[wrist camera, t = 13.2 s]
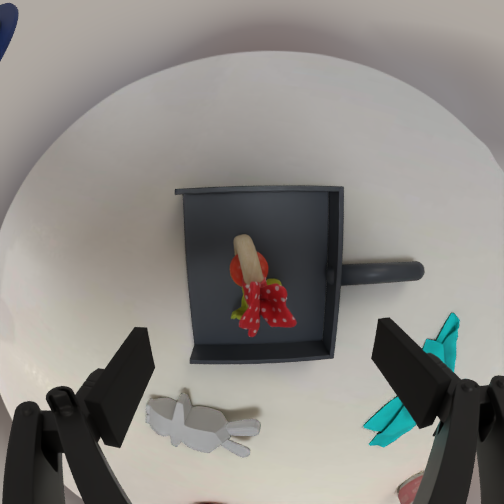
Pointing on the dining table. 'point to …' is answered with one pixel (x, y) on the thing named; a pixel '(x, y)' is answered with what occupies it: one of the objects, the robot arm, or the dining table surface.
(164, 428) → the bunny figurine
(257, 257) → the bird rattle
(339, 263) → the scoop
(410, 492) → the container
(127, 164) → the dining table surface
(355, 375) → the dining table surface
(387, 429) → the cloth
